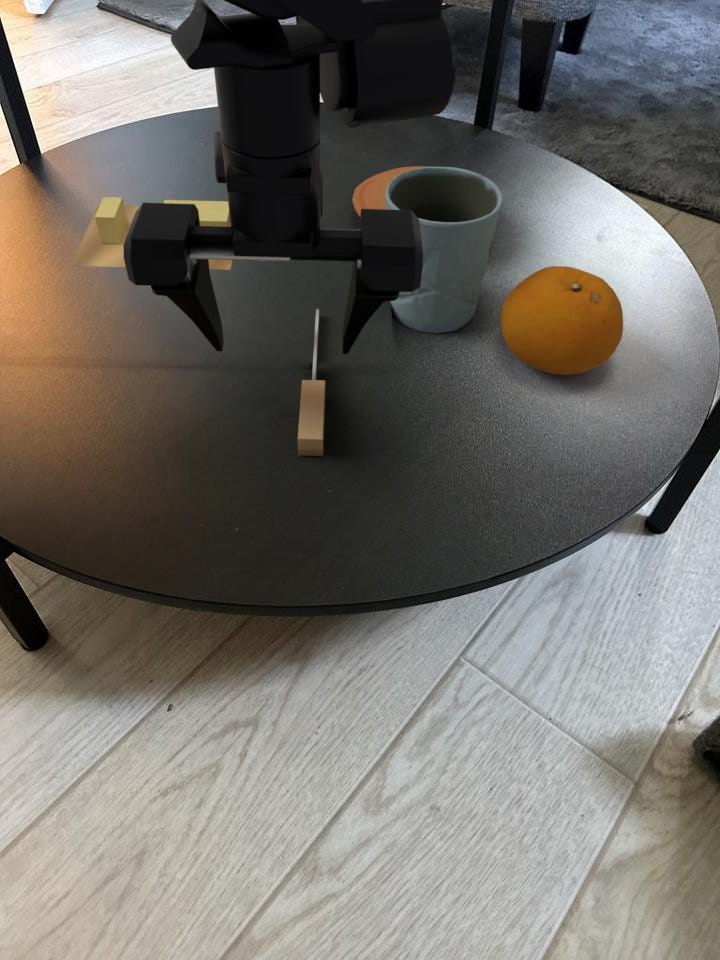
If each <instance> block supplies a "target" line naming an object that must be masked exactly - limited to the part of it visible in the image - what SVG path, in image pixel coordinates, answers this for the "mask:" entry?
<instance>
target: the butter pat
mask: <svg viewBox="0 0 720 960" xmlns="http://www.w3.org/2000/svg"><path fill="white" fill-rule="evenodd" d="M99 205H100V206H99V208H98V211H97V213H96V215H95V220H96V224H97V228H98V232H99V236H100V239H101V243H108V244H121V242H122V239H123V236H124V234H125V231H126V229H127V226H128V220H127V216H126V211H125V207H124V206H125V203H124V198H123V197H117V196H116V197H114V196H112V197H111V196H103V197H102V200H101V201H100V204H99Z"/></svg>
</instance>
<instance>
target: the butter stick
mask: <svg viewBox="0 0 720 960" xmlns="http://www.w3.org/2000/svg"><path fill="white" fill-rule="evenodd" d="M163 203H174V204H195V206H196V207H197V209H198V212H199V219H200V226H220V227H231V224H230V215H229V205H228V200H227V201H226V200H225V201H222V200H221V201H220V200H187V199H186V200H185V199H184V200H183V199H182V200H181V199H164V200H163Z"/></svg>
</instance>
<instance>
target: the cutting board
mask: <svg viewBox="0 0 720 960" xmlns="http://www.w3.org/2000/svg"><path fill="white" fill-rule="evenodd" d="M99 206H100V204H97V206H96V208H95V211H94V213H93V215H92V217H91V219H90V221H89V224H88V226H87V228H86V231H85V233H84V235H83V238H82V240H81V242H80V244H79V247H78V248H77V251H76V254H75V256H74V258H73V260H72V262H71V265H70V267H85V268H86V267H88V268H89V267H91V268H126V266H125V262H124V242H125V239H126V236H127V234H128V231H129V228H130V226H131V223H132V220H133V218H134V215H135V212H136V211H137V210H138V208H139V207H140V206H141V205H124V207H125V211H126V216H127V220H128V226H127V229H126V231H125V234H124V236H123V239H122V242H121V244H108V243H101V239H100V236H99V232H98V228H97V224H96V220H95V215H96V213H97V211H98V208H99ZM208 260H209V270H211V271H213V270H215V271H217V270H218V271H231V270H232V266H233V261H234V260H214V259H208Z"/></svg>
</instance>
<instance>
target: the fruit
mask: <svg viewBox="0 0 720 960" xmlns="http://www.w3.org/2000/svg"><path fill="white" fill-rule="evenodd" d="M623 313H624V312H623V307H622V303H621V301H620V300H619V297H618V295H617V293H616V292H615V291H614V289H613V287H611V286H610V284H608V282H607V281H605V280H604V278H602V277H600V276H597V275H596V274H594V273H590V272H588V271H584V270H582V269H579V268H576V267H573V266H566V265H554V266H553V265H552V266H547V267H543V268H541V269H539V270H536V271H535V272H533V273H532V274H530V275H529V276H526V277H525V278H524V279H523V280H522V281H520V282H519V283H517V285H516V286H515V287H514V288H513V289H512V290H511V291H510V292H509V294H508V295H507V296H506V298H505V300H504V302H503V304H502V307H501V312H500V327H501V332H502V336H503V340H504V342H505V344H506V346H507V347H508V349H509V351H510V352H511V353H512V354H513V355H514V356H515V357H516V359H518V360H519V361H522V362H523V363H524V364H526V365H528V366H529V367H532V368H533V369H536V370H538V371H541V372H543V373H544V372H545V373H549V374H552V375H577V374H578V375H579V374H582V373H586V372H588V371H592V370H593V369H596V368H597V367H599V366H601V365H602V364H604V362H607V360H609V359H610V358H611V357H612V356H613V355H614V353H615V352H616V350H617V348H618V347H619V344H620V342H621V340H622V338H623V332H624V315H623Z"/></svg>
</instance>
